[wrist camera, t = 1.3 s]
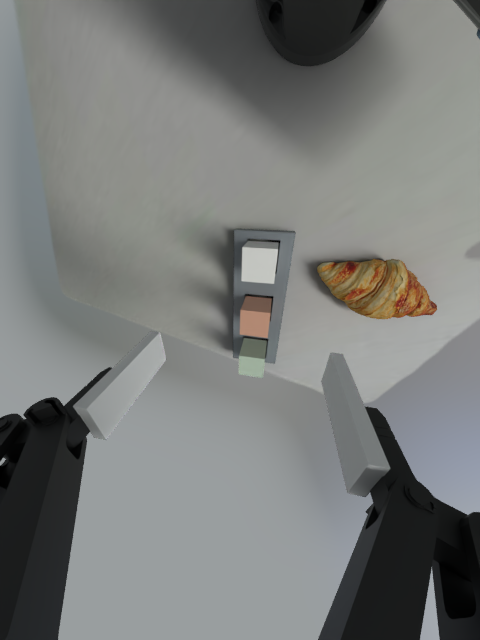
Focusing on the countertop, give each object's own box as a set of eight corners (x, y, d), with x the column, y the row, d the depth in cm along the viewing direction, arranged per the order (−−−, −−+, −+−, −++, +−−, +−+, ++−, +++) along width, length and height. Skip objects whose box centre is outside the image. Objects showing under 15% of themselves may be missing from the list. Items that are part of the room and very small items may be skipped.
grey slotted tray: (237, 228, 34) (234, 230, 32) (294, 231, 33) (295, 232, 31) (235, 351, 49) (233, 357, 46) (275, 356, 47) (274, 363, 45)
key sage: (244, 337, 42) (239, 355, 37) (266, 340, 42) (265, 359, 37) (243, 355, 45) (238, 374, 40) (264, 358, 44) (262, 377, 39)
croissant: (307, 273, 40) (301, 303, 36) (335, 230, 31) (332, 263, 27) (405, 309, 39) (411, 343, 35) (463, 275, 30) (479, 315, 26)
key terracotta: (245, 295, 37) (240, 309, 32) (271, 298, 37) (270, 313, 32) (244, 318, 40) (239, 334, 35) (269, 320, 39) (267, 337, 34)
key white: (248, 240, 32) (242, 247, 27) (278, 242, 32) (278, 249, 27) (247, 270, 35) (241, 281, 30) (274, 272, 34) (274, 284, 29)
